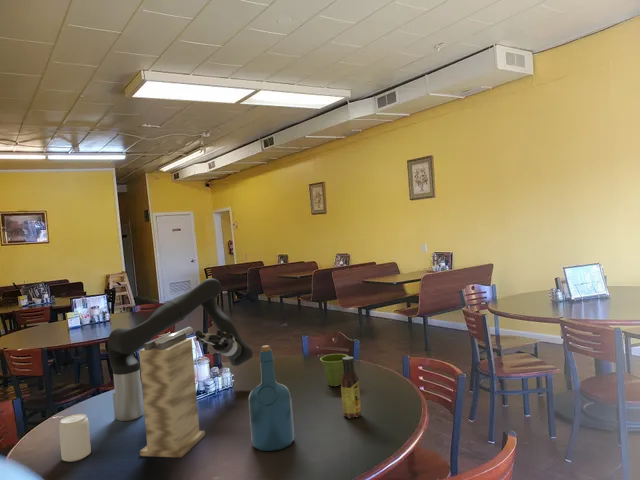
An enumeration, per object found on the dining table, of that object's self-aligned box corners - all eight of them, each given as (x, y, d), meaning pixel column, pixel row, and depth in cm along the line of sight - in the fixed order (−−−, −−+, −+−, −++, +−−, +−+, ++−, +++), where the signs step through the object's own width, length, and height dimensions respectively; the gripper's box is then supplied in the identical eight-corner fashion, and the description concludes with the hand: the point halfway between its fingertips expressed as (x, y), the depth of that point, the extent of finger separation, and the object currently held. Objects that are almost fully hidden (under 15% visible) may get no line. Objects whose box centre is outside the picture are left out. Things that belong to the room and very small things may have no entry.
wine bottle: (255, 434, 151) (248, 342, 151) (296, 432, 151) (289, 339, 151) (247, 454, 138) (239, 353, 137) (292, 452, 137) (284, 350, 137)
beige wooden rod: (160, 348, 143) (160, 340, 143) (153, 348, 144) (153, 340, 144) (193, 333, 163) (192, 326, 163) (186, 333, 163) (186, 326, 163)
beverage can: (69, 452, 149) (65, 414, 149) (95, 449, 150) (92, 412, 150) (56, 464, 141) (53, 425, 141) (84, 461, 142) (81, 422, 142)
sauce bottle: (360, 419, 157) (355, 360, 157) (341, 419, 158) (337, 361, 158) (362, 411, 164) (358, 355, 163) (344, 411, 165) (340, 355, 164)
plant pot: (320, 381, 200) (318, 355, 200) (348, 378, 201) (346, 352, 201) (324, 390, 188) (321, 362, 188) (353, 387, 190) (350, 359, 189)
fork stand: (140, 455, 143) (130, 344, 142) (167, 434, 157) (158, 333, 157) (181, 457, 140) (172, 343, 139) (205, 435, 154) (196, 332, 154)
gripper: (210, 336, 193) (191, 323, 179) (242, 334, 189) (226, 322, 175) (207, 354, 189) (188, 342, 175) (240, 353, 186) (223, 341, 172)
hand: (207, 332), depth 175 cm, fingers open, 8 cm apart
